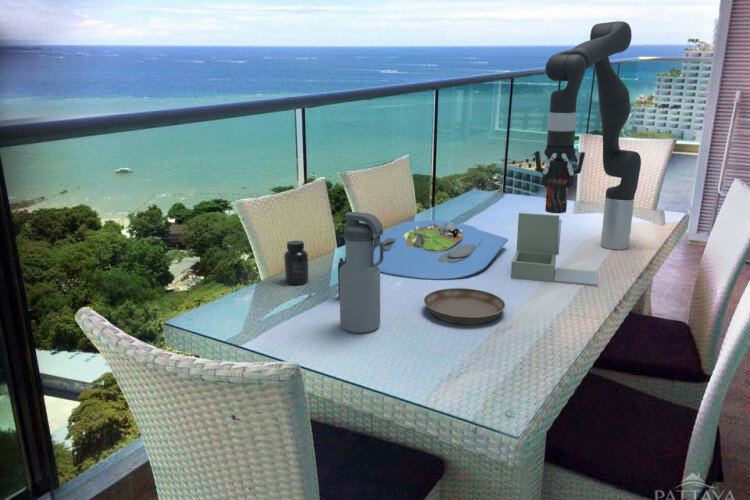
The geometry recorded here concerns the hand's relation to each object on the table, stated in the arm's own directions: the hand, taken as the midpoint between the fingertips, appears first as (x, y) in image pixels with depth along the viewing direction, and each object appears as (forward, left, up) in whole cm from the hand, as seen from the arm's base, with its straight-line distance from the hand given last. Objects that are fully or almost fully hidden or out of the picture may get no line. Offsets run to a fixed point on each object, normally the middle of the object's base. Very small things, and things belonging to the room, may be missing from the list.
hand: (557, 187), depth 184 cm
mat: (0, +7, -27) cm, 28 cm away
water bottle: (+54, -41, -27) cm, 73 cm away
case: (0, -5, -27) cm, 27 cm away
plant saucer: (+37, -19, -27) cm, 50 cm away
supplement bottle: (+29, -70, -27) cm, 81 cm away
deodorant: (0, 0, -7) cm, 7 cm away
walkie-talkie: (+37, -51, -27) cm, 69 cm away
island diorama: (-6, -39, -27) cm, 48 cm away
